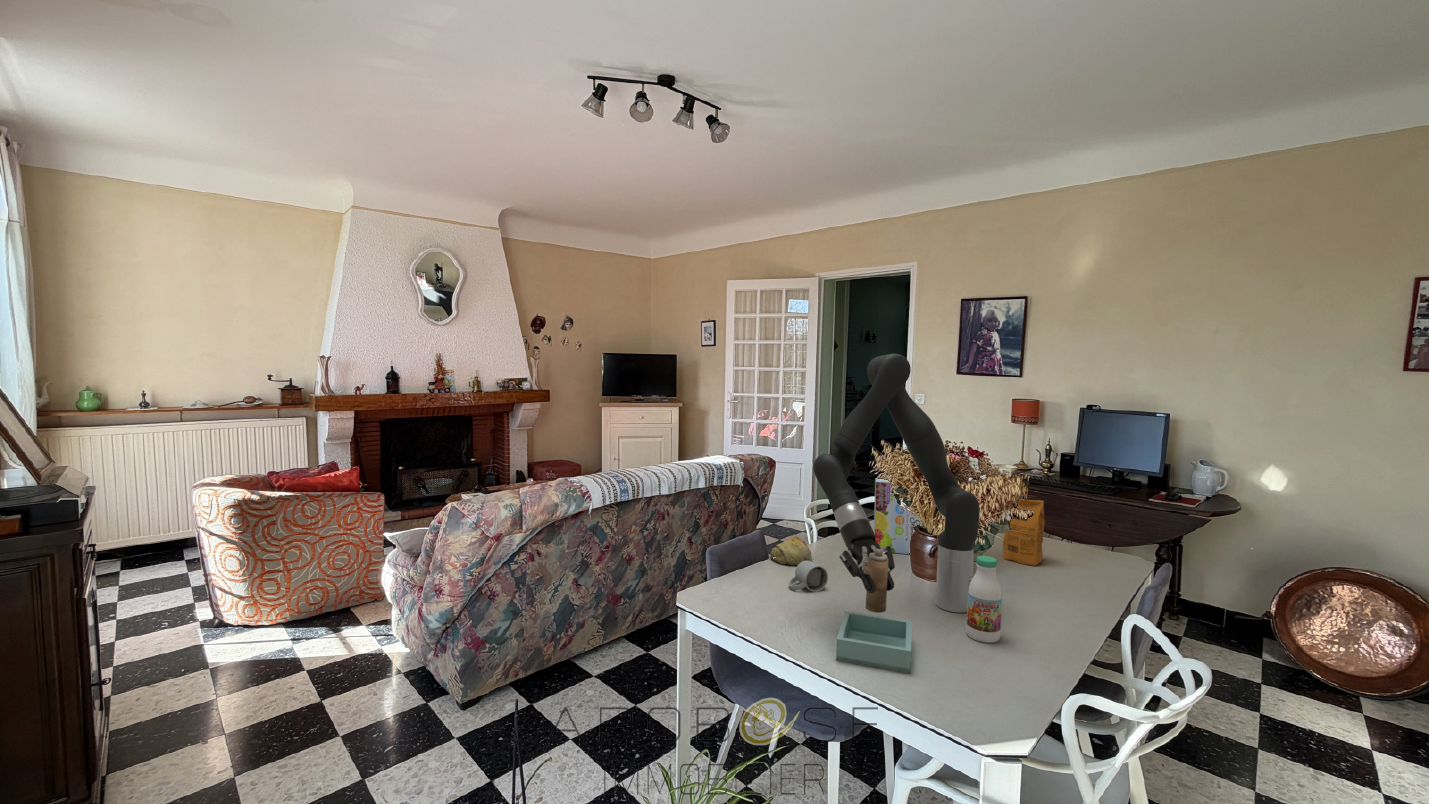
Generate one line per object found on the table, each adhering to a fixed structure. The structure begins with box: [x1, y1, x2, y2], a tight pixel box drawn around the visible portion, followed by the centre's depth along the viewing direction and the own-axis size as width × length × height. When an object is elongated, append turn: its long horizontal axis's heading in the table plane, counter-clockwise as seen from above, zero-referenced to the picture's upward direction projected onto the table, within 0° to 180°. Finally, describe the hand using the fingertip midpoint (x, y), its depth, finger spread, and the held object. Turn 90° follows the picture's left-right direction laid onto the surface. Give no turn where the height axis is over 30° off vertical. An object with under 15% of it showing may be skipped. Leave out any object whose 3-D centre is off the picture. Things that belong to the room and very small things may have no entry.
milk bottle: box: [965, 555, 1003, 644], centre depth 147 cm, size 8×8×20 cm
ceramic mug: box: [788, 561, 829, 593], centre depth 177 cm, size 11×8×8 cm
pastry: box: [770, 536, 813, 566], centre depth 201 cm, size 14×12×8 cm
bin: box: [835, 610, 913, 674], centre depth 139 cm, size 16×16×5 cm
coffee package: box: [1002, 498, 1046, 566], centre depth 205 cm, size 10×12×22 cm
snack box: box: [873, 477, 922, 555], centre depth 212 cm, size 22×9×26 cm, turn 77°
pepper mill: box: [865, 549, 888, 614], centre depth 138 cm, size 5×5×14 cm
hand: (881, 590), depth 137 cm, fingers closed on pepper mill, 4 cm apart
